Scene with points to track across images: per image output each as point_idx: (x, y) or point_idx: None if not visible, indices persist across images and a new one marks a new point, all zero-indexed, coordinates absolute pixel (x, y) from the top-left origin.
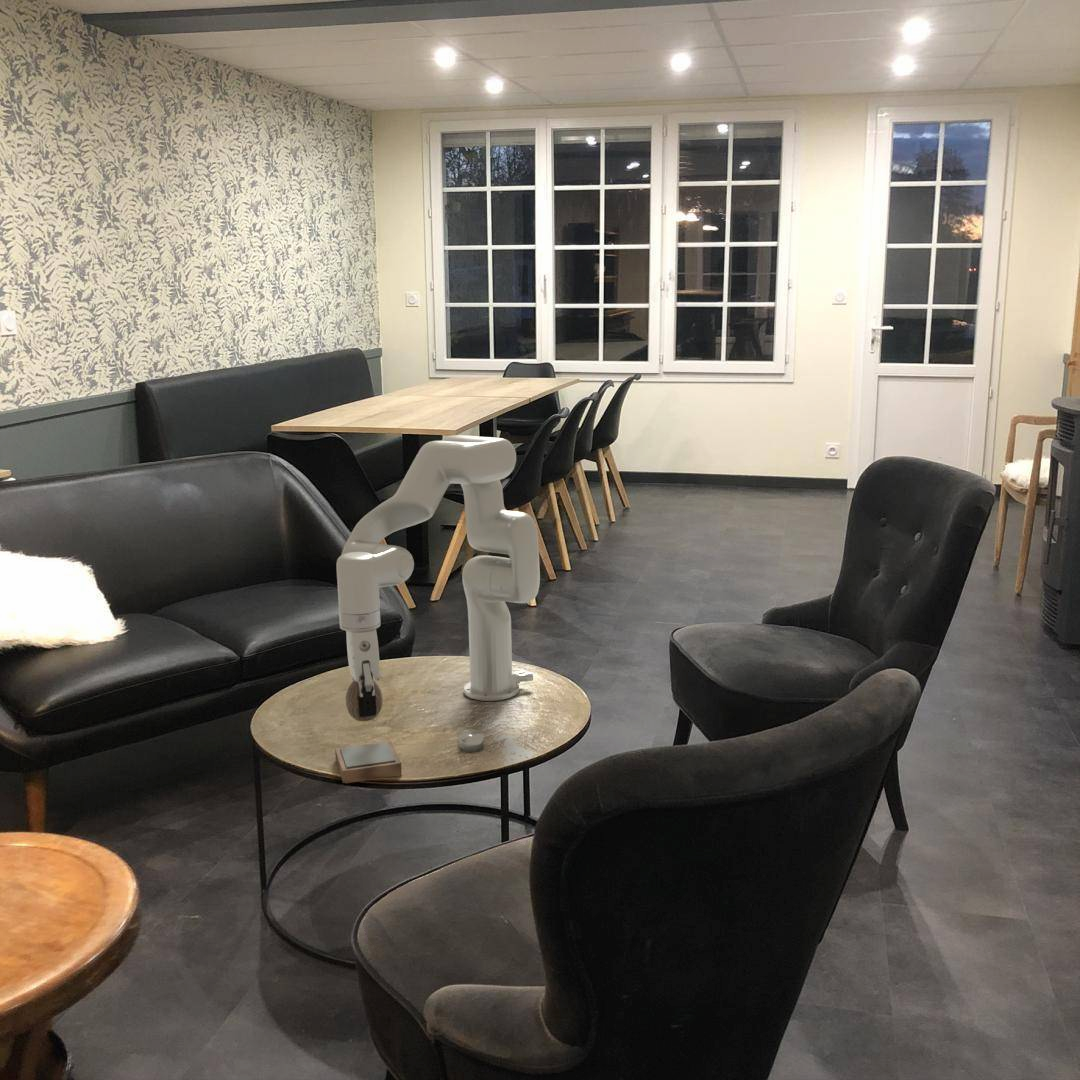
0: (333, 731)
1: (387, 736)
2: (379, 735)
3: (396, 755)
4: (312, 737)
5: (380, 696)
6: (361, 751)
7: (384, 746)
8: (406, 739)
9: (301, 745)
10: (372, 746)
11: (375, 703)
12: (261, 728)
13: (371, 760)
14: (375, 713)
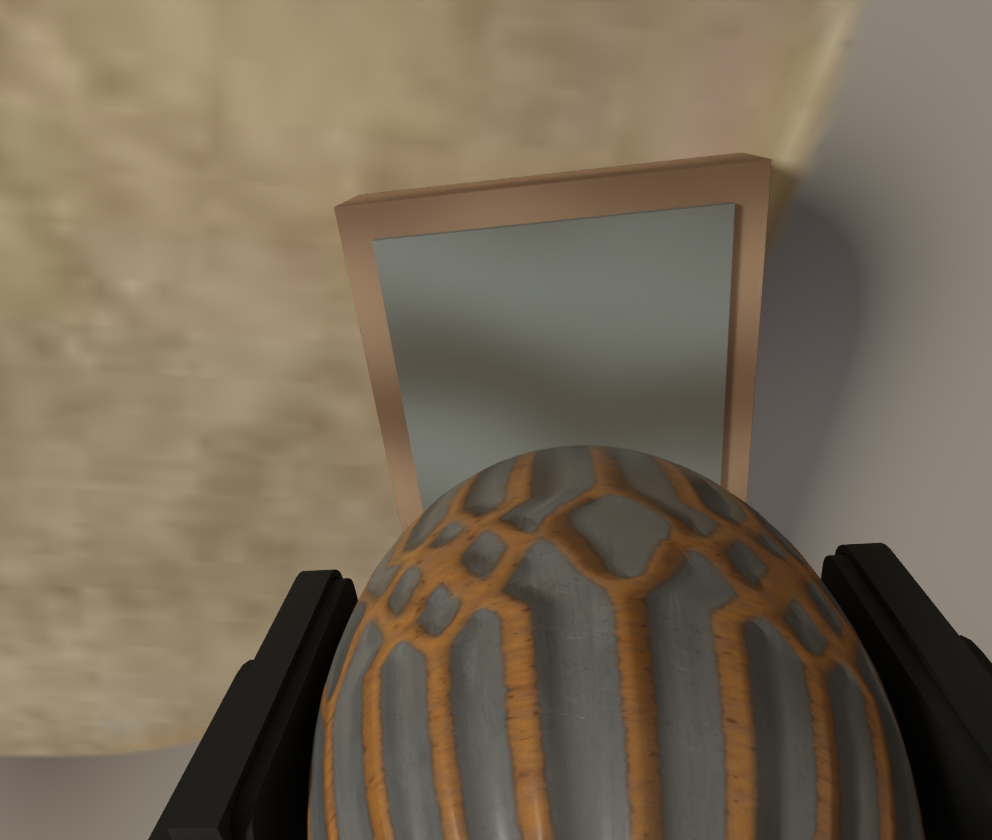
0: (30, 497)
1: (83, 202)
2: (69, 254)
3: (619, 185)
4: (115, 587)
5: (768, 604)
6: (505, 421)
7: (453, 266)
8: (131, 63)
9: (212, 631)
10: (436, 348)
11: (979, 669)
12: (25, 750)
13: (672, 370)
14: (887, 558)
